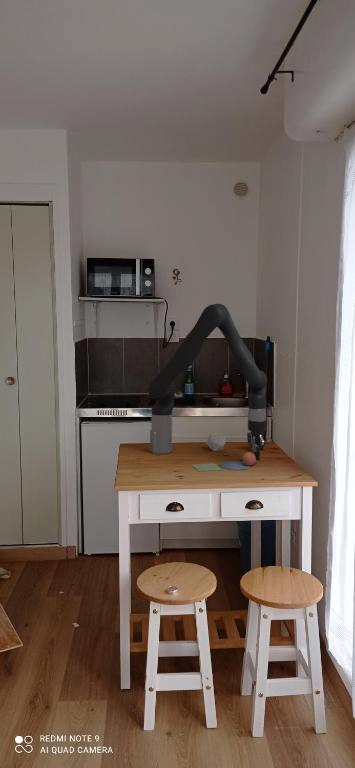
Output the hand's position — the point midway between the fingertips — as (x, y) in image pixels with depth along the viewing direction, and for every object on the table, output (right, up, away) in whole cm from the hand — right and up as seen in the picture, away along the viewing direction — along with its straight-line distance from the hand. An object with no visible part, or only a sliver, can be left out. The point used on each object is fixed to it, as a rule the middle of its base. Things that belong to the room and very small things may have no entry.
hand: (256, 459), depth 242 cm
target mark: (-10, -2, -2) cm, 10 cm away
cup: (+2, +1, +24) cm, 24 cm away
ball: (-3, +1, -2) cm, 4 cm away
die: (-15, +1, +24) cm, 28 cm away
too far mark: (-21, -2, -6) cm, 22 cm away
